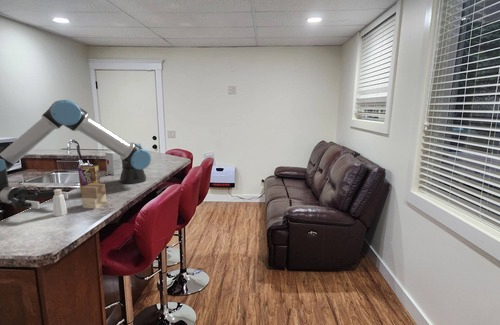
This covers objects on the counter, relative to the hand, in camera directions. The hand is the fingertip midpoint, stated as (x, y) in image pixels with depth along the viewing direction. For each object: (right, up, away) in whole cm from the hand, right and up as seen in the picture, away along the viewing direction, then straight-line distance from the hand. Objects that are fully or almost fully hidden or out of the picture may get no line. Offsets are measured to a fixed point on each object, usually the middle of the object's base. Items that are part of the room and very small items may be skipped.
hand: (53, 200), depth 123 cm
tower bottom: (+11, -4, +12) cm, 17 cm away
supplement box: (-8, +9, +75) cm, 76 cm away
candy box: (0, -1, +29) cm, 29 cm away
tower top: (+11, +1, +11) cm, 16 cm away
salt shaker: (+2, -6, +1) cm, 7 cm away
